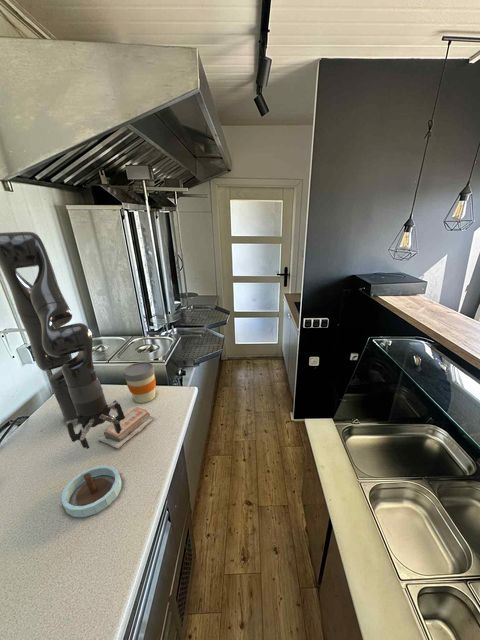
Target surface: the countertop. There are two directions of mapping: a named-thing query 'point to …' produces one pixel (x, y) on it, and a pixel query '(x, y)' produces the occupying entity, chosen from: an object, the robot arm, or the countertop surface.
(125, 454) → the countertop surface
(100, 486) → the ring stand
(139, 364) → the reusable coffee cup
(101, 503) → the ring
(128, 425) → the packaged product
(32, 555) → the countertop surface
